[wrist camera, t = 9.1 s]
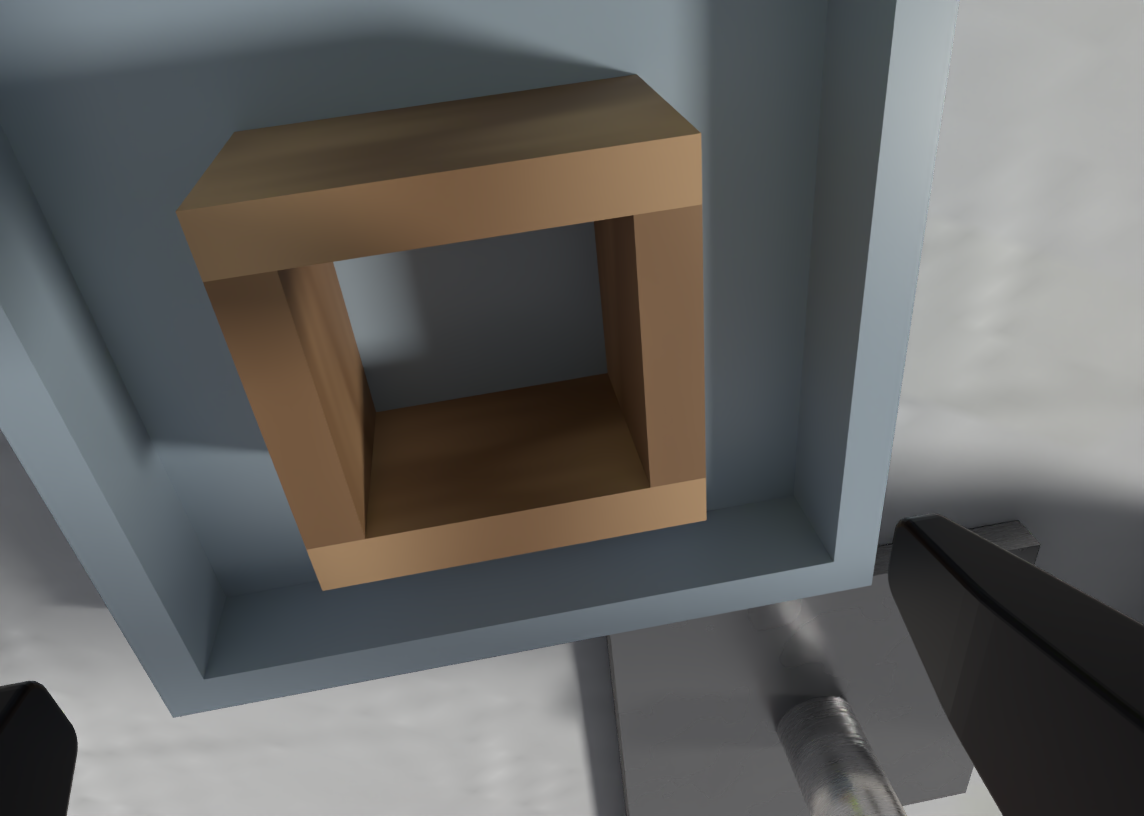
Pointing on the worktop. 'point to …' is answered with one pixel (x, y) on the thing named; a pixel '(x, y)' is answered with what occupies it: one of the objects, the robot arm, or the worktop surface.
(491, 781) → the worktop surface
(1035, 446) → the worktop surface
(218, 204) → the open wooden box frame
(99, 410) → the light blue frame
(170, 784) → the worktop surface
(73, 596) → the worktop surface
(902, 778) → the stake base
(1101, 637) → the robot arm
